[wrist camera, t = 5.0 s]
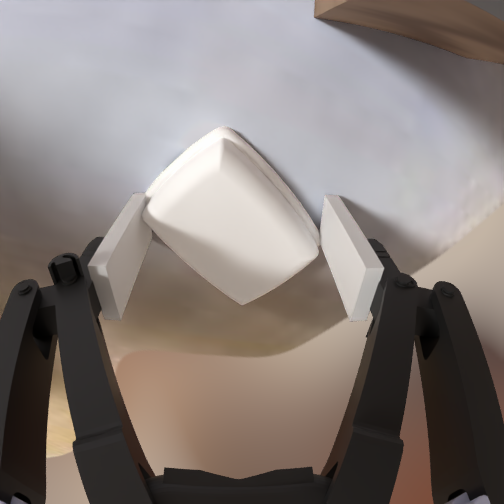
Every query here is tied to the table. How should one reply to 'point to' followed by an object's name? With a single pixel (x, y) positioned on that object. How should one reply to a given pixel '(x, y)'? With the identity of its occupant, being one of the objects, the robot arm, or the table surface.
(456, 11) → the walnut base cube
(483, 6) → the grey cube
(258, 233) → the soap
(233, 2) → the table surface
